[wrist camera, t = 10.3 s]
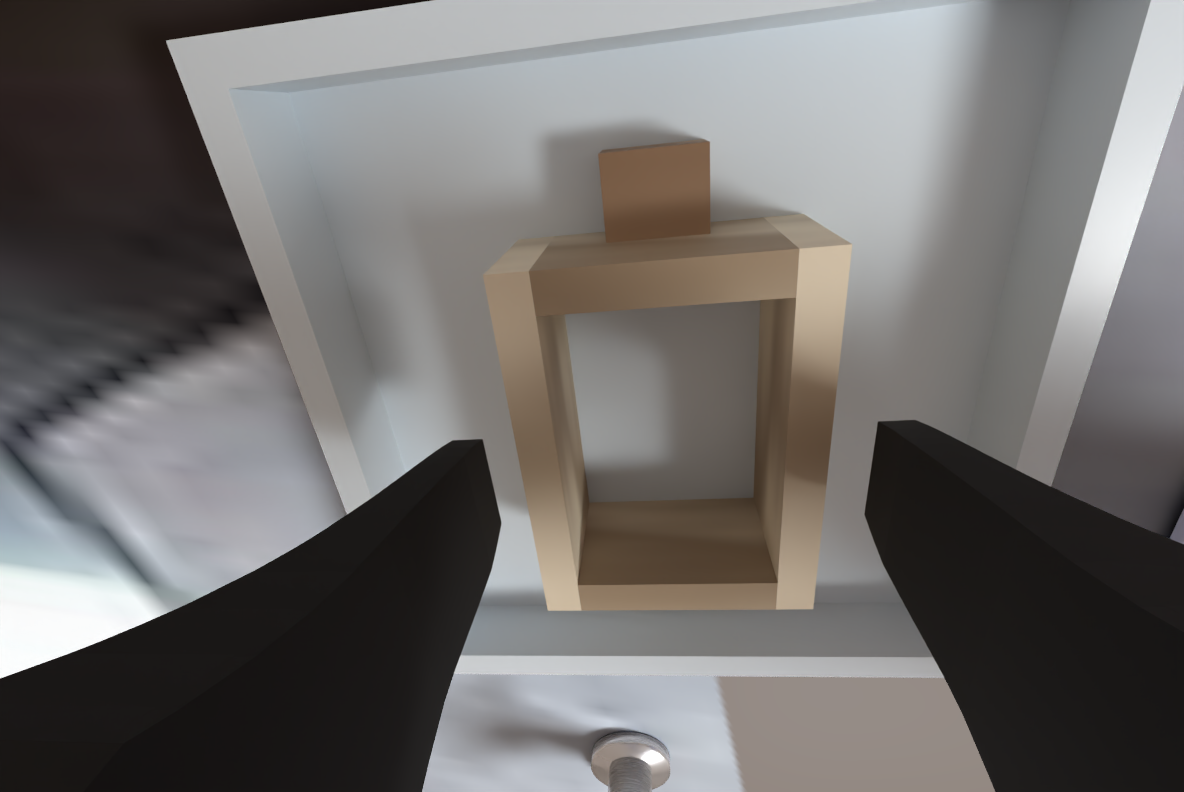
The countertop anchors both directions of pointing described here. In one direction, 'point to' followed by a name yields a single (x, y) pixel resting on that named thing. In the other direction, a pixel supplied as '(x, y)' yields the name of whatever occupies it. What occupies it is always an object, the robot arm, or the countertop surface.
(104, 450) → the countertop surface
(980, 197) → the tray
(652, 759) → the t head stake
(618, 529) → the wooden lantern frame
